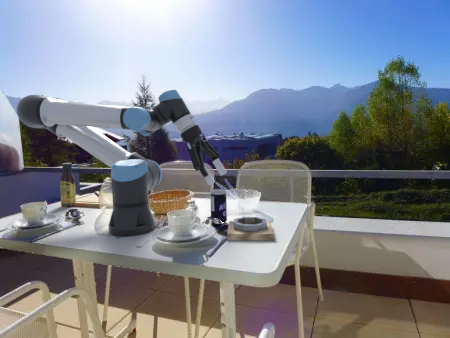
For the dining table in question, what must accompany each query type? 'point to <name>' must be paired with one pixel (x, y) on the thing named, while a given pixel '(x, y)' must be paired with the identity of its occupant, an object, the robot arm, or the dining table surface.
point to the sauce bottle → (67, 186)
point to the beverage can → (218, 204)
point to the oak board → (250, 233)
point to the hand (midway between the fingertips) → (218, 178)
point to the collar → (250, 224)
